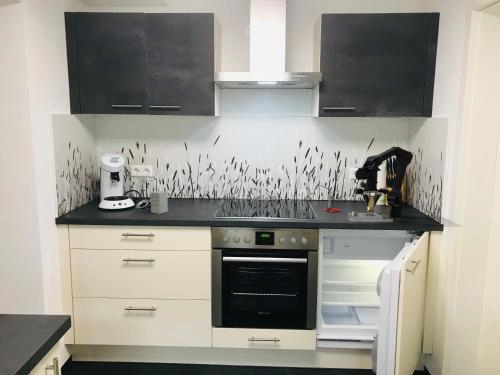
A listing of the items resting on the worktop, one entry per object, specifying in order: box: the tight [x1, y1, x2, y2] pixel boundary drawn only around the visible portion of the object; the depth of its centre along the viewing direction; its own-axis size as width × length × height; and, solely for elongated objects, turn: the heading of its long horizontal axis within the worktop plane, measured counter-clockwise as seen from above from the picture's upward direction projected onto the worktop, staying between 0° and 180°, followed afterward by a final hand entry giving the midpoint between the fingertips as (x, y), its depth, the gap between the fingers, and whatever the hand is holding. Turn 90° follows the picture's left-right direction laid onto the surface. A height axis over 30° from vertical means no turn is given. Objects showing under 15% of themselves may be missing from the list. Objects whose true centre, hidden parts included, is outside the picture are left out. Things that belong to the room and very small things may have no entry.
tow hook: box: [324, 190, 341, 213], centre depth 255 cm, size 8×13×9 cm
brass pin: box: [366, 194, 375, 213], centre depth 231 cm, size 4×4×9 cm
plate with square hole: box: [347, 211, 394, 223], centre depth 232 cm, size 23×10×4 cm, turn 92°
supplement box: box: [150, 190, 169, 215], centre depth 246 cm, size 7×7×13 cm
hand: (370, 206), depth 231 cm, fingers closed on brass pin, 4 cm apart
